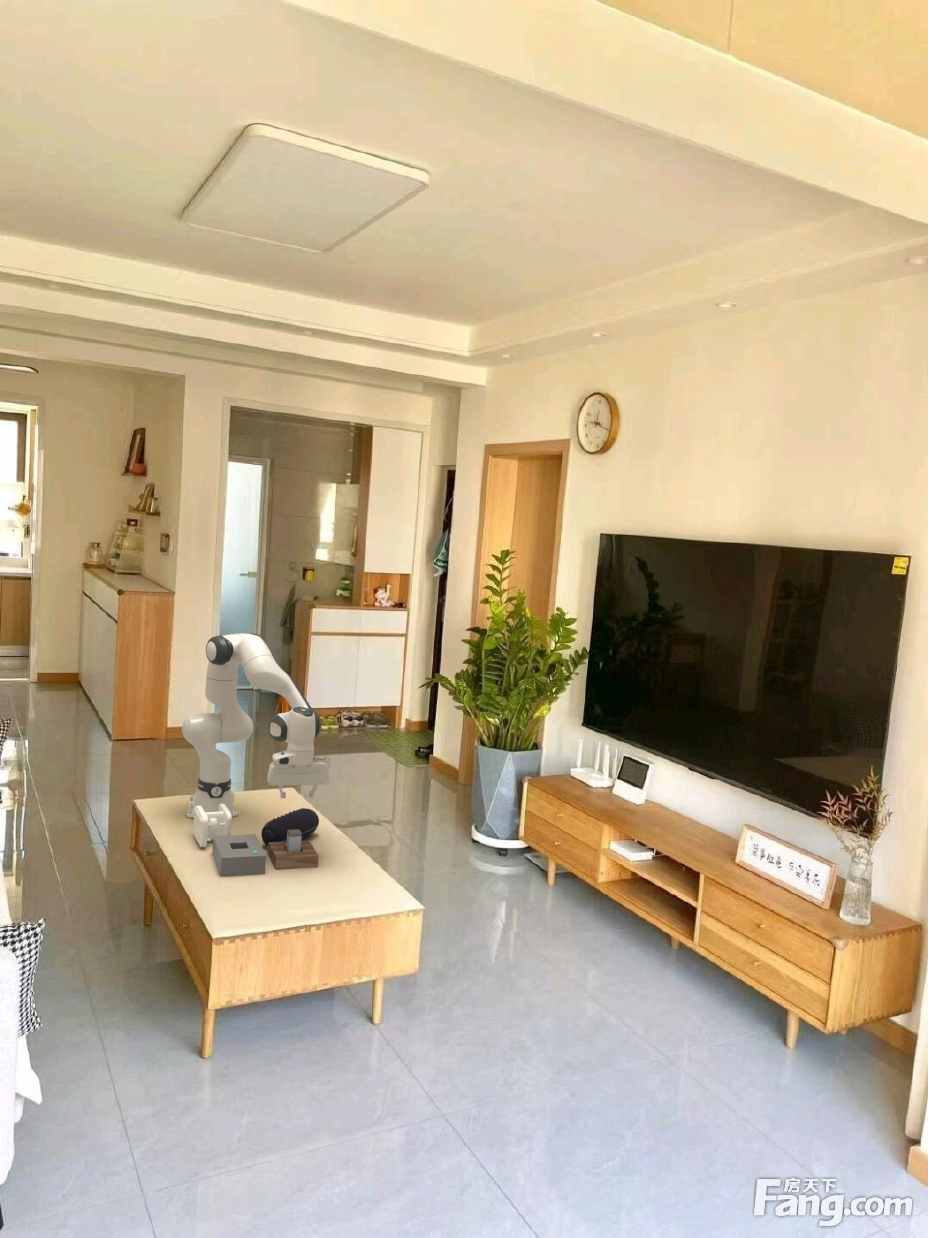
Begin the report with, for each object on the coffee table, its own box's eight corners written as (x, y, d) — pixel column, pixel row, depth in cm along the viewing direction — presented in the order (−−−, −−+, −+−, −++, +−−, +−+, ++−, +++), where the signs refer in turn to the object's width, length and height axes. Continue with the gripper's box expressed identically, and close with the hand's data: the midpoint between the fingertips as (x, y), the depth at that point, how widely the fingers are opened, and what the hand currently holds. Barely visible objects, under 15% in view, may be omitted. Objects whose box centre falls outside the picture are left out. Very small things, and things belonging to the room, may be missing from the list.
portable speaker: (298, 829, 353) (300, 803, 352) (321, 835, 348) (323, 809, 347) (255, 848, 330) (257, 820, 329) (278, 855, 326) (280, 826, 325)
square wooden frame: (267, 854, 326) (268, 842, 325) (308, 851, 331) (309, 840, 330) (275, 869, 313) (276, 857, 312) (317, 867, 318) (318, 855, 318)
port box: (212, 853, 322) (213, 835, 321) (254, 851, 327) (255, 833, 326) (220, 876, 303) (221, 856, 302) (264, 873, 308) (266, 854, 308)
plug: (285, 858, 323) (287, 830, 322) (297, 858, 324) (299, 829, 323) (287, 863, 319) (289, 834, 318) (299, 862, 321) (301, 833, 320)
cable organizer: (231, 848, 328) (233, 815, 326) (199, 851, 323) (201, 817, 322) (221, 833, 341) (223, 801, 340) (191, 835, 336) (193, 803, 335)
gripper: (328, 754, 325) (325, 793, 326) (267, 754, 317) (265, 795, 318) (333, 758, 319) (330, 799, 320) (271, 759, 311) (268, 801, 313)
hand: (297, 797), depth 319 cm, fingers open, 8 cm apart
